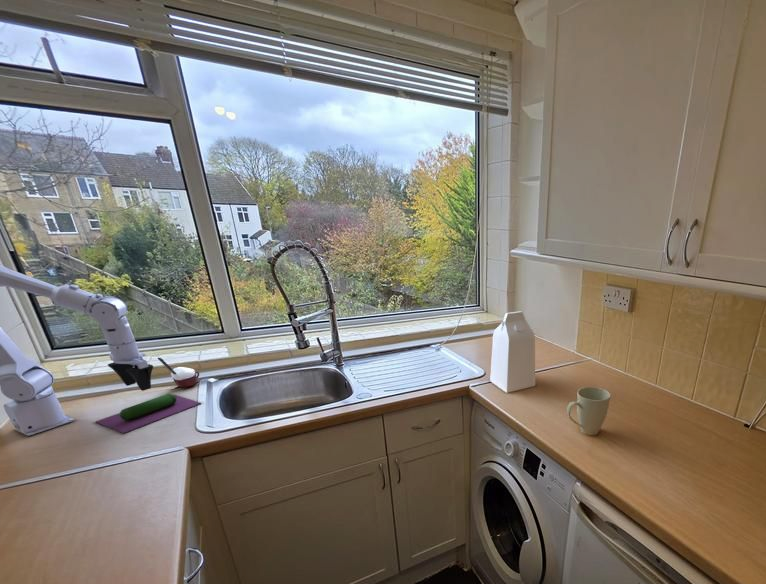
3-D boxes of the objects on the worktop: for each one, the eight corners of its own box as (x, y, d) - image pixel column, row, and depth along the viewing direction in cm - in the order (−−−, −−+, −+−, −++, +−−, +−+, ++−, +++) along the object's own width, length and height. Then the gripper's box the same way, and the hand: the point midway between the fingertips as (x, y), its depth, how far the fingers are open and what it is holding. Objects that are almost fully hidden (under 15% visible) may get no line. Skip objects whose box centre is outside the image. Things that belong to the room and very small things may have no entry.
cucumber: (126, 424, 114) (122, 413, 113) (118, 419, 115) (115, 409, 114) (180, 404, 126) (177, 394, 124) (173, 400, 127) (170, 390, 125)
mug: (576, 419, 122) (580, 383, 117) (609, 428, 118) (614, 390, 113) (563, 436, 113) (567, 398, 108) (598, 446, 109) (603, 406, 104)
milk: (517, 374, 153) (519, 307, 143) (535, 385, 145) (538, 314, 134) (490, 381, 147) (490, 310, 137) (506, 392, 139) (507, 318, 128)
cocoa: (200, 379, 143) (190, 347, 138) (204, 384, 139) (194, 352, 134) (166, 387, 137) (154, 353, 132) (170, 393, 133) (158, 358, 128)
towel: (123, 433, 110) (123, 432, 110) (95, 422, 115) (95, 421, 115) (201, 403, 127) (200, 402, 126) (173, 395, 132) (173, 394, 131)
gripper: (153, 342, 113) (168, 386, 119) (124, 334, 118) (140, 377, 124) (122, 349, 107) (140, 395, 113) (93, 341, 112) (111, 385, 118)
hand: (138, 386), depth 118 cm, fingers open, 7 cm apart
